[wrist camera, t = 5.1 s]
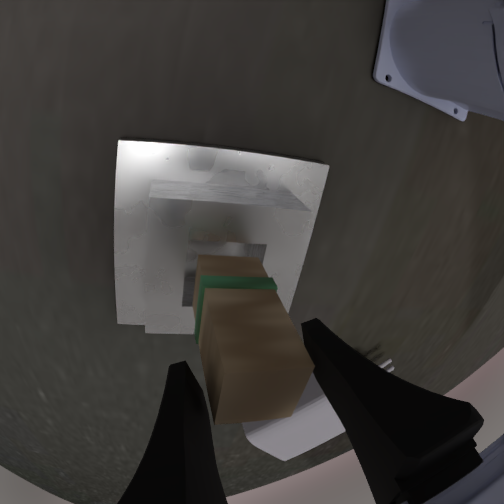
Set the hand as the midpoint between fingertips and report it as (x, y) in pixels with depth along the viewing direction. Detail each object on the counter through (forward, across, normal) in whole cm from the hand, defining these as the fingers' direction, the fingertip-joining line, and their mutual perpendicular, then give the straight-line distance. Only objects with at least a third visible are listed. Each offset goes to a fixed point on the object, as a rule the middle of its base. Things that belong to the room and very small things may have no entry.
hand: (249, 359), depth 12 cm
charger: (+10, -6, +20) cm, 23 cm away
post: (+5, 0, 0) cm, 5 cm away
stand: (+10, 0, 0) cm, 10 cm away
